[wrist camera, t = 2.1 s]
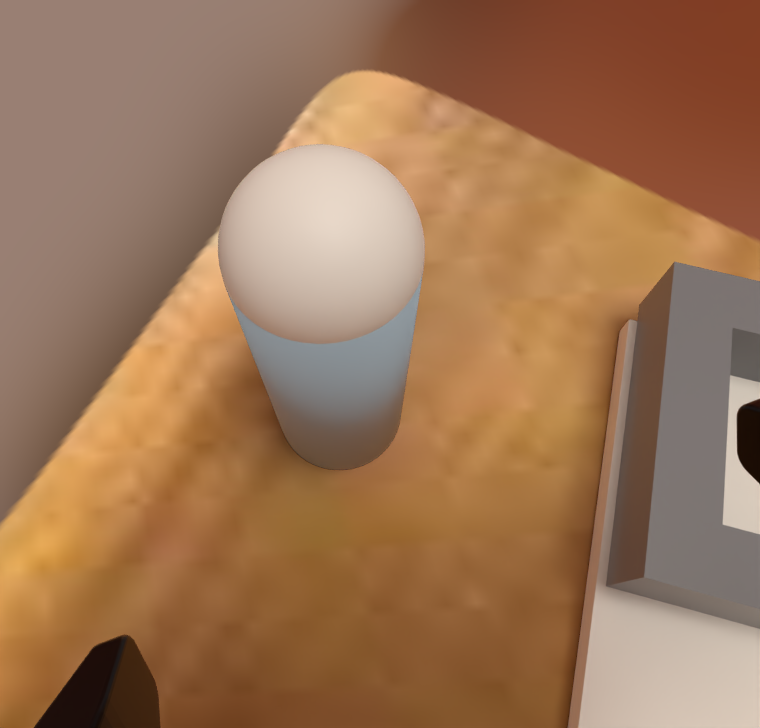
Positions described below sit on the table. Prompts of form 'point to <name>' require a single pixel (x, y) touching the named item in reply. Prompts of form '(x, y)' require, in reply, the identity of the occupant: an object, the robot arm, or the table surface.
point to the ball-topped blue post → (326, 295)
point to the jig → (676, 519)
